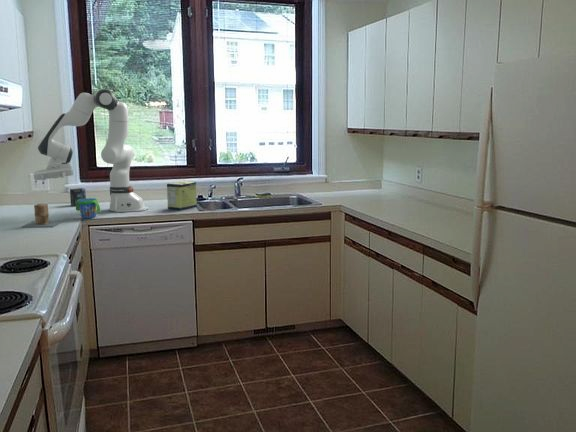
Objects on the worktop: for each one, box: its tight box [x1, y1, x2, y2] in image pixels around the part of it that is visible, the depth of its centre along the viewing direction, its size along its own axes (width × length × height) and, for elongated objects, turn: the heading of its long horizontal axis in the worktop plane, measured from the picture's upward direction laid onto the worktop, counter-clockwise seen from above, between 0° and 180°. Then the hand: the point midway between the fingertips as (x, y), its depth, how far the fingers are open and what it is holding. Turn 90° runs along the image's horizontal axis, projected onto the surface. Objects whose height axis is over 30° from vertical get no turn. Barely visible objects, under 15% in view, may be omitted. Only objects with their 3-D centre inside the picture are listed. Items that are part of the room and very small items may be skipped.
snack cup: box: [75, 197, 101, 219], centre depth 313 cm, size 16×10×10 cm
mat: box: [21, 220, 63, 229], centre depth 295 cm, size 16×14×1 cm
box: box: [69, 187, 87, 208], centre depth 354 cm, size 8×6×11 cm
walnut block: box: [33, 203, 50, 225], centre depth 294 cm, size 5×5×10 cm
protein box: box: [166, 180, 198, 211], centre depth 343 cm, size 10×16×16 cm
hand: (52, 177), depth 304 cm, fingers open, 8 cm apart
